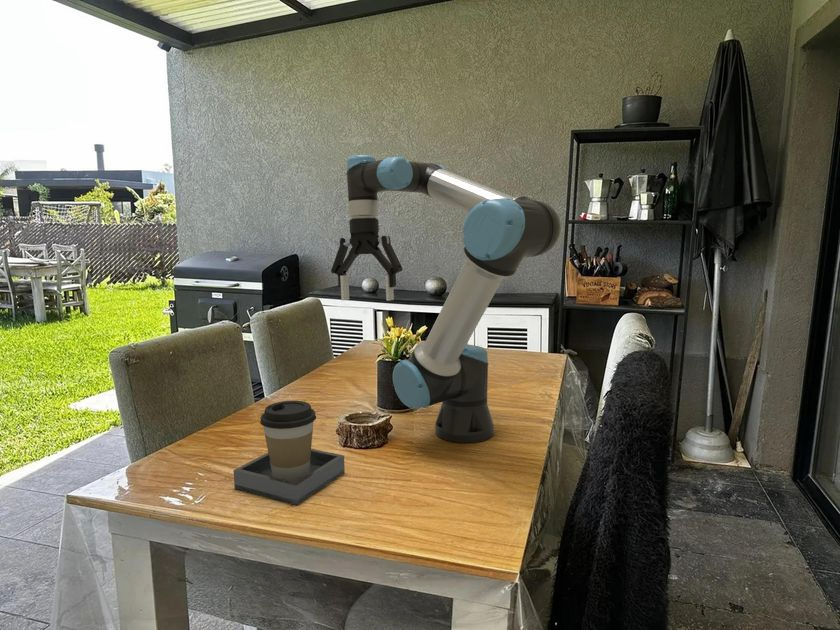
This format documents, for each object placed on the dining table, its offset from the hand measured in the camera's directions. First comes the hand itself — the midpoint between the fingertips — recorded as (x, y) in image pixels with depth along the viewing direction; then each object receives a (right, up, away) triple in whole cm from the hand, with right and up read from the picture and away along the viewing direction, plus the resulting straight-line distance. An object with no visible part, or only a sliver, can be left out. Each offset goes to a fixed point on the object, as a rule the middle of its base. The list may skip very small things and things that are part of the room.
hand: (367, 300), depth 146 cm
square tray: (-13, -39, -29) cm, 50 cm away
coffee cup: (-13, -38, -29) cm, 50 cm away
